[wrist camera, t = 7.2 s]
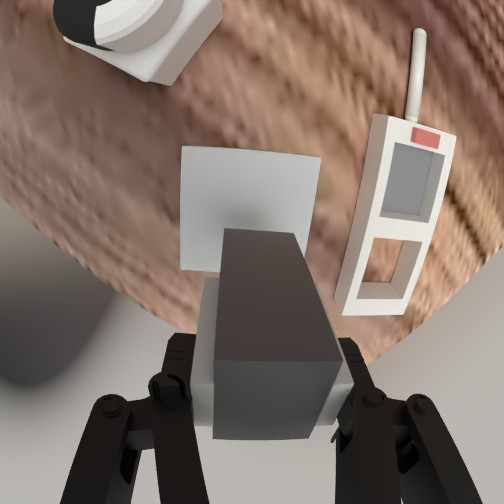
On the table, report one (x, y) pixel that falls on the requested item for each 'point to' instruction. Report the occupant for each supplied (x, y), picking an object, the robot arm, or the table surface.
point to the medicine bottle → (139, 32)
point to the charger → (269, 340)
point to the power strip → (396, 201)
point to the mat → (241, 198)
